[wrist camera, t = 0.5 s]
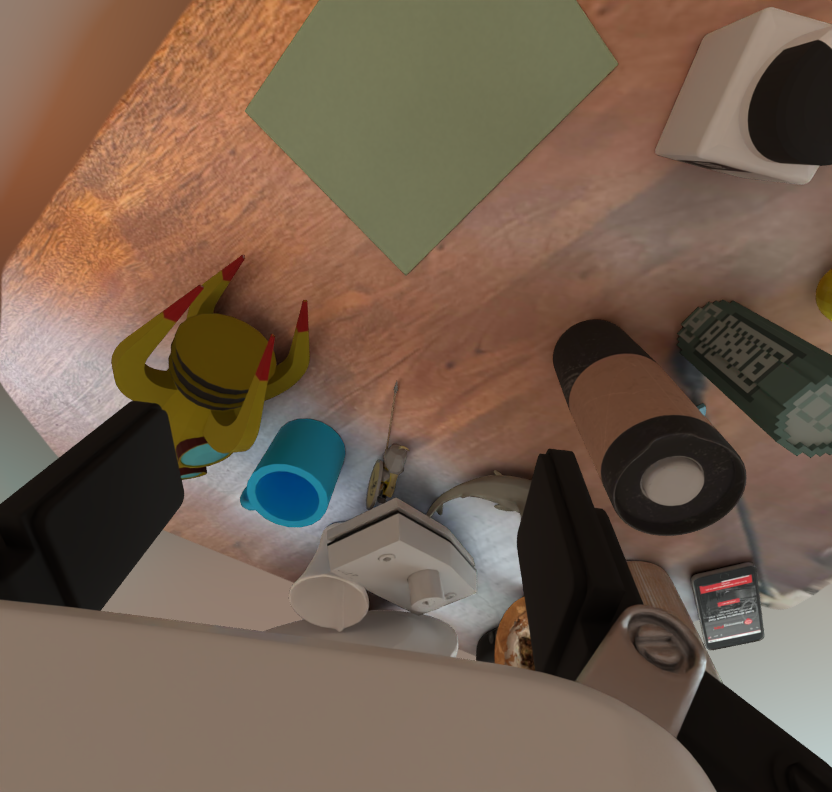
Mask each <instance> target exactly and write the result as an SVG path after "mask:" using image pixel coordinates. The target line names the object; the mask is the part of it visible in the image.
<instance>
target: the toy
mask: <svg viewBox="0 0 832 792" xmlns="http://www.w3.org/2000/svg"><path fill="white" fill-rule="evenodd" d="M397 391H398V386H397V382H396V384H395V387H394V399H393V406H392V412H391V419H390V426H389V433H388V439H387V446H386V450H385V452H384V455H383V459H384V461H381V460H377V461H376V463H375V465H374V467H373V470H372V474H371V477H370V481H369V486H368V491H367V498H366V509H367V510H371V509H373V507H374V505H375V502H379V503H382V504H384V503H385V502H386V497H387V496H388V497H392V495H393V492H394V490H395V486H396V481H397V477H398V475H399V474H401V473H402V472H403V471H404V464H405V461H406V458H407V451H406V450H405V449H407V450H408V448H406V447H404V446H401V445H396V444H393V445H392V446H391V447H390V448H389V449H388V443H389V436H390V429H391V423H392V416H393V409H394V403H395V396H396V393H397ZM408 451H409V450H408ZM383 486H384V487H383ZM382 488H383V489H382ZM378 495H379V496H380V497H379V496H378Z"/></svg>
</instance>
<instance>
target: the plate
mask: <svg viewBox="0 0 832 792" xmlns="http://www.w3.org/2000/svg"><path fill="white" fill-rule="evenodd" d="M264 632H271V633H279V634H287V635H294V636H302V637H310V638H317V639H325V640H332V641H340V642H347V643H355V644H362V645H369V646H377V647H384V648H392V649H399V650H406V651H414V652H421V653H429V654H435V655H442V656H449V657H455V658H456V655H457V652H458V637H457V634H456V632H455V630H454V629H453V628H452V627H451V626H450V625H449V624H447V623H445V622H444V621H442V620H440V619H437V618H434V617H432V616H428V615H424V614H422V615H419V616H417V615H415V614H413V613H411V612H405V611H386V610H376V611H367V614H366V615H365V616H364V617H363V619H362V620H361V621H360V622H358V623H356V624H354V625H352V626H349V627H346V628H344V629H343V631H342V632H338V631H337V630H336V629H334V628H326V627H320V626H317V625H315V624H312V623H310V622H308V621H306V620H304V619H303V620H300V621H295V622H292V623H288V624H285V625H281V626H278V627H275V628H271V629H269V630H266V631H264Z"/></svg>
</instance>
